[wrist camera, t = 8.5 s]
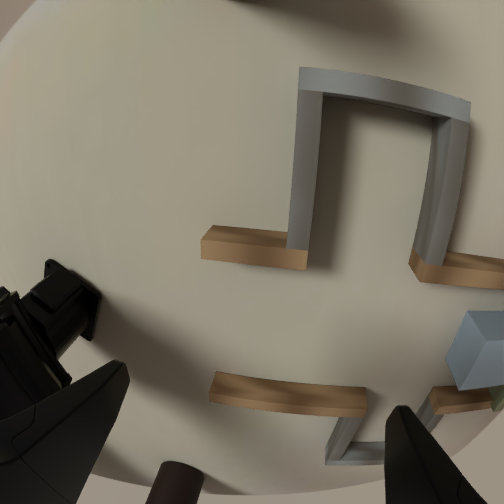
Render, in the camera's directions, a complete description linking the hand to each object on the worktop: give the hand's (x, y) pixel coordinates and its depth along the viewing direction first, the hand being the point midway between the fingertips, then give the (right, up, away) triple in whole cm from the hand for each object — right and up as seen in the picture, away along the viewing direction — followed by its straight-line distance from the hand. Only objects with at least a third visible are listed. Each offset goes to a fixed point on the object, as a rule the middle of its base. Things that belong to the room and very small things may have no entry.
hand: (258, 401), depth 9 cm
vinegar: (-10, -28, +28) cm, 41 cm away
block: (+19, -2, +11) cm, 22 cm away
